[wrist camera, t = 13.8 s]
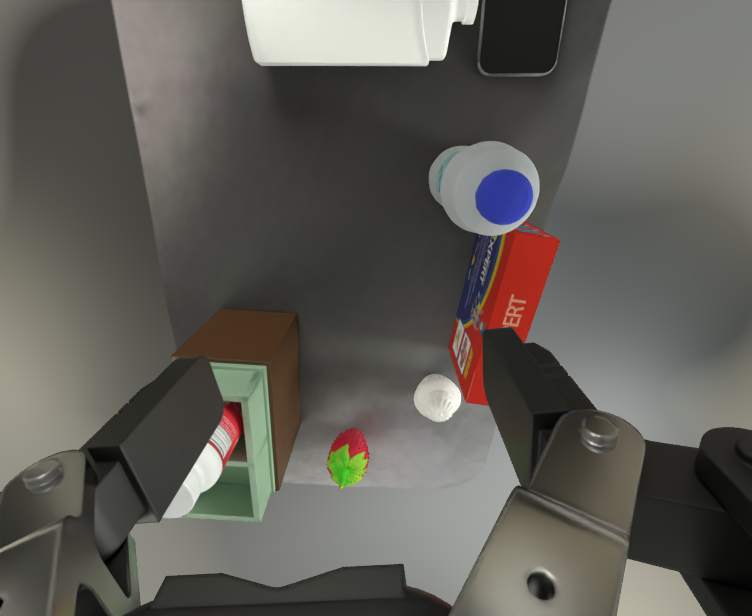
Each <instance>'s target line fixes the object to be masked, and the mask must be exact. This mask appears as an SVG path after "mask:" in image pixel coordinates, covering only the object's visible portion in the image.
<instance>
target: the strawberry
mask: <svg viewBox="0 0 752 616" xmlns="http://www.w3.org/2000/svg"><path fill="white" fill-rule="evenodd" d="M367 448H368V446H367V444H366V440H365V439H364V438H363V435H362V434H361V432H360V431H358V430H357V429H356V428H354V429H350V430H346V431H345V432H343V433H340V435H339V436H338V437H336V440H334V443H333V444H332V446H331V449H330V453H329V457H328V459H327V466H328V468H327V469H328V470H329V472H330V474H331V478H332V480H333V481H335V482H336V483H338V484H339V488H340V489H342V488H343V487H344V486H349V485H353V484H355V483H357V482H358V481H360V480H362V476H363V475H364V473H366V470H367V465H368V459H369V457H368V455H369V452H368V449H367Z"/></svg>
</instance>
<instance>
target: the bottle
mask: <svg viewBox="0 0 752 616" xmlns="http://www.w3.org/2000/svg"><path fill="white" fill-rule="evenodd" d="M429 187H430V191H431V193H432V195H433V197H434V198H435V199H436V201H437V202H438V203H439V204H441V205H442V206H443V207H444V209H445V211H446V213H447V215H448V216H449V217H450V219H451V220H452V221H453V222H454V223H455V224H456V225H457V226H459V227H460V228H462V229H464V230H467V231H469V232H474V233H478V234H481V235H487V236H494V235H501V234H505V233H507V232H510V231H512V230H513V229H515V228H517V227H518V226H519V225H521V224H522V223H523V222H524V221H525V220H526V219H527V218H528V217H529V215H530V214H531V212H532V211H533V209H534V207H535V205H536V202H537V199H538V196H539V178H538V173H537V170H536V168H535V166H534V164H533V163H532V162H531V160H530V159H529V158H528V157H527V156H526V155H525V154H523V153H522V152H520V151H518V150H516V149H514V148H513V147H511V146H510V145H508V144H505V143H502V142H497V141H486V142H480V143H477V144H474V145H471V146H455V147H452V148H449V149H446V150H445V151H443V152H442V153H441V154H440V155H439V156H438V157H437V158H436V160H435V161H434V163H433V164H432V166H431V168H430V171H429Z"/></svg>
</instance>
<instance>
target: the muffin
mask: <svg viewBox="0 0 752 616" xmlns="http://www.w3.org/2000/svg"><path fill="white" fill-rule="evenodd" d="M460 402H461V394H460V391H459V389H458V388H457V386H456V385H455V384H454V383H453V382H452V381H451V380H449V379H448V378H446V377H444V376H442V375H440V374H431V375H428V376H427V377H425V378H424V379H423V380H422V381H421V383H420V384H419V385H418V387H417V389H416V391H415V394H414V403H415V406H416V408H417V409H418V411H419V412H420V413H421V414H422V415H424V416H425V417H428V418H429V419H431V420H433V421H435V422H436V421H437V422H441V421H443V422H444V421H445V420H448V419H449V417H452V414H453V413H454V412H455V411H456V410H457V409H458V407H459V405H460Z"/></svg>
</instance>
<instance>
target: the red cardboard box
mask: <svg viewBox="0 0 752 616" xmlns="http://www.w3.org/2000/svg"><path fill="white" fill-rule="evenodd" d="M559 243H560V240H559V239H557V238H555V237H554V236H552V235H550V234H547V233H546V232H544V231H542V230H540V229H538V228H536V227H534V226H532V225H530V224H529V223H527V222H525V221H524V222H523V223H522V224H521V225H519V226H518V227H517V228H515V229H513V230H512V231H510V232H507V233H505V234H501V235H494V236H487V235H481V234H478V233H477V237H476V241H475V245H474V249H473V253H472V257H471V261H470V265H469V269H468V273H467V277H466V281H465V285H464V289H463V293H462V297H461V300H460V304H459V308H458V312H457V316H456V320H455V324H454V328H453V332H452V336H451V340H450V344H449V351H450V354H451V357H452V361H453V364H454V367H455V370H456V373H457V377H458V380H459V383H460V386H461V389H462V392H463V396H464V399H465V402H466V403H473V404H481V405H488V406H489V404H488V401H487V399H486V395H485V391H484V385H483V352H482V335H483V330H484V329H494V328H504V327H512V328H513V329H514V330H515V332H516V333H517V334H518V336H519V337H520V339H521V340H522V341H523V343H525V341H526V338H527V335H528V332H529V329H530V326H531V324H532V321H533V318H534V315H535V312H536V309H537V306H538V303H539V301H540V298H541V295H542V292H543V289H544V286H545V283H546V280H547V278H548V274H549V271H550V269H551V266H552V263H553V260H554V257H555V254H556V252H557V249H558V246H559Z"/></svg>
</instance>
